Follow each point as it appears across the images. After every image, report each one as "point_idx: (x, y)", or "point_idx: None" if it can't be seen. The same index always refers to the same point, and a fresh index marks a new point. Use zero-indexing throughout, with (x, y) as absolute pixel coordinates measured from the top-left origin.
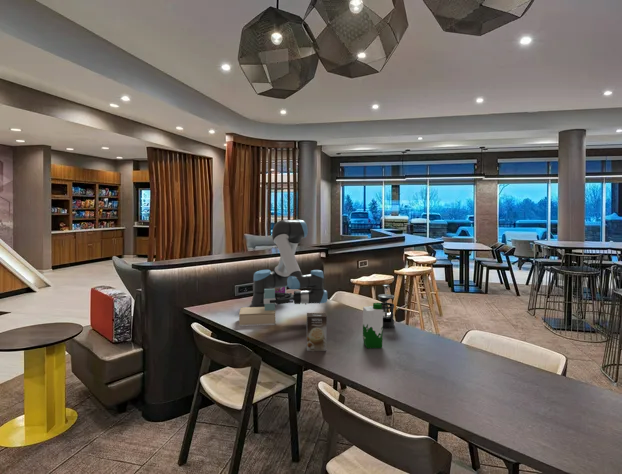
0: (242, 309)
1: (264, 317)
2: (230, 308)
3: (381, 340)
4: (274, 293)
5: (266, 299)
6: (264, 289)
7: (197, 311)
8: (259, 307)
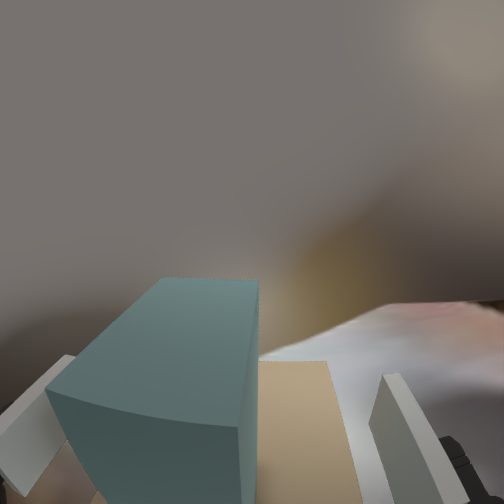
0: (276, 369)
1: None
2: (470, 352)
3: None
4: (91, 463)
5: (49, 377)
6: (203, 279)
7: (398, 305)
8: (332, 453)
